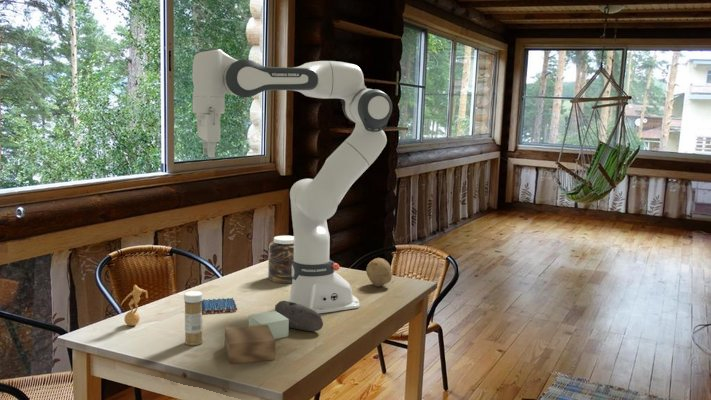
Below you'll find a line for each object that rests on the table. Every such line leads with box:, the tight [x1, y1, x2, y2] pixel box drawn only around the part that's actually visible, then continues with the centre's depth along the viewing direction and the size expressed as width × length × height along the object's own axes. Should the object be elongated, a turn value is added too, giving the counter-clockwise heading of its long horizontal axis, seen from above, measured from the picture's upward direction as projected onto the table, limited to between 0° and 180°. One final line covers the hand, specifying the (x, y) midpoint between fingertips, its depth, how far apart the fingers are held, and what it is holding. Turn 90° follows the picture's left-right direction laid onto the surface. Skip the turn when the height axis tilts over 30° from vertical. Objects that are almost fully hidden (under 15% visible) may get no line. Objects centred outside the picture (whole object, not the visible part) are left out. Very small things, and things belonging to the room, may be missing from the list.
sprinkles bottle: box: [183, 290, 204, 346], centre depth 164 cm, size 5×5×13 cm
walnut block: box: [224, 325, 276, 365], centre depth 159 cm, size 11×11×5 cm
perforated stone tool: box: [274, 300, 324, 332], centre depth 177 cm, size 15×5×7 cm, turn 60°
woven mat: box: [202, 297, 238, 315], centre depth 193 cm, size 10×11×2 cm
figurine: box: [120, 284, 149, 327], centre depth 174 cm, size 8×6×12 cm
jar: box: [267, 235, 294, 284], centre depth 225 cm, size 12×12×15 cm
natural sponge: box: [365, 257, 393, 288], centre depth 220 cm, size 9×9×10 cm
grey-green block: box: [248, 310, 290, 340], centre depth 172 cm, size 8×8×5 cm
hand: (208, 156), depth 181 cm, fingers open, 8 cm apart
